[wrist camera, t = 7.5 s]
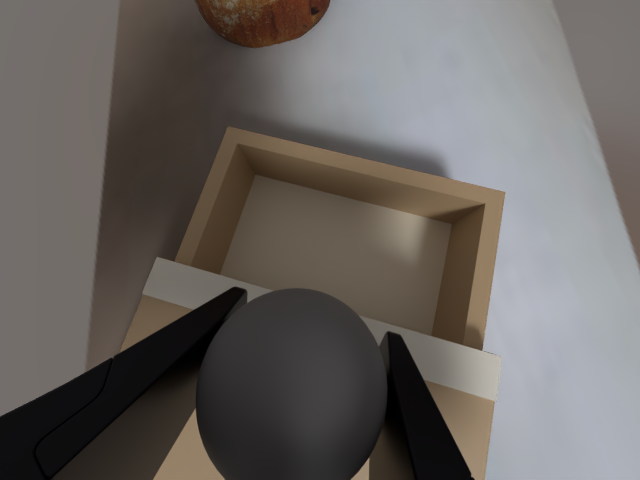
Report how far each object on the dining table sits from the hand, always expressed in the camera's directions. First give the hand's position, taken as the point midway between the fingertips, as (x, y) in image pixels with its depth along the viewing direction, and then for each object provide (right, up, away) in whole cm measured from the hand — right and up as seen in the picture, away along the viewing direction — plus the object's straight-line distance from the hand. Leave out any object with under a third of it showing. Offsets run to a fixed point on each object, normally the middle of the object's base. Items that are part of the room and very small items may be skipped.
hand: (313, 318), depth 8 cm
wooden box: (+1, 0, +8) cm, 8 cm away
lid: (-2, -6, +2) cm, 7 cm away
